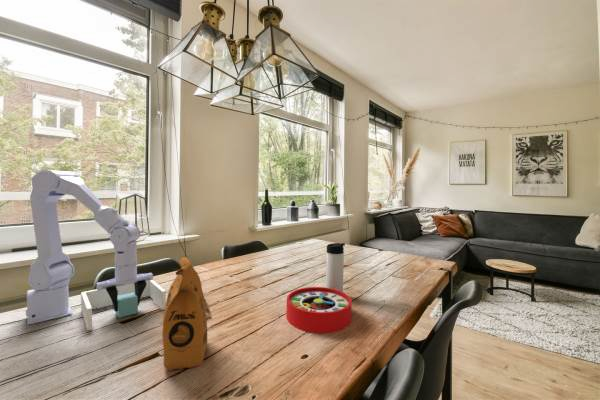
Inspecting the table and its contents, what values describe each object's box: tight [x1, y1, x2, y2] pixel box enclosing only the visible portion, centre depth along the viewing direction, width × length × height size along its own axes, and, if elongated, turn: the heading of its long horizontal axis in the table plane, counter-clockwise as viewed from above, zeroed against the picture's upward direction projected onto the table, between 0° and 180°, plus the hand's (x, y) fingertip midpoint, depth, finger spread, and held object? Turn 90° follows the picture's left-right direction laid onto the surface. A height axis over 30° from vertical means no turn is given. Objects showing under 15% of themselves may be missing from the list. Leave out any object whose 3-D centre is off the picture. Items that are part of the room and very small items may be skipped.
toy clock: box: [285, 286, 352, 334], centre depth 84 cm, size 20×6×20 cm
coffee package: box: [161, 256, 208, 371], centre depth 63 cm, size 10×12×22 cm
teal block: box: [114, 292, 139, 319], centre depth 84 cm, size 5×5×5 cm
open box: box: [80, 279, 167, 332], centre depth 86 cm, size 20×16×6 cm
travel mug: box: [325, 242, 346, 292], centre depth 99 cm, size 6×7×20 cm
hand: (126, 307), depth 84 cm, fingers closed on teal block, 5 cm apart
